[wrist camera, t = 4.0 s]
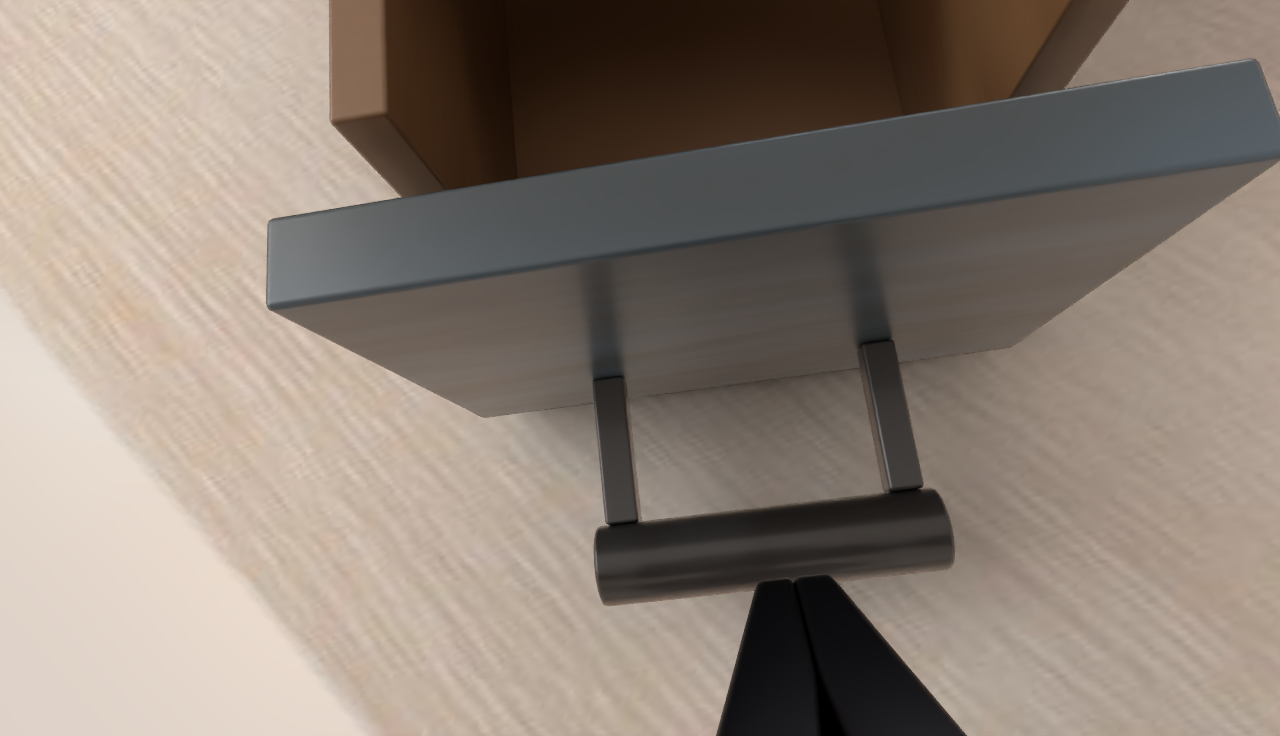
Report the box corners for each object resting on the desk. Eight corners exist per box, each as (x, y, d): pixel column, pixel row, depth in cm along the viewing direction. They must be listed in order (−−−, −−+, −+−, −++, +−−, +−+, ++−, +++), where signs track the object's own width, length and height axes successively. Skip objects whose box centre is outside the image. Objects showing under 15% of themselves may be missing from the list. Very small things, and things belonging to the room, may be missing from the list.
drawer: (1062, 550, 14) (1449, 561, 6) (492, 612, 15) (254, 682, 7) (895, -130, 18) (1012, -610, 11) (455, -45, 19) (276, -426, 12)
